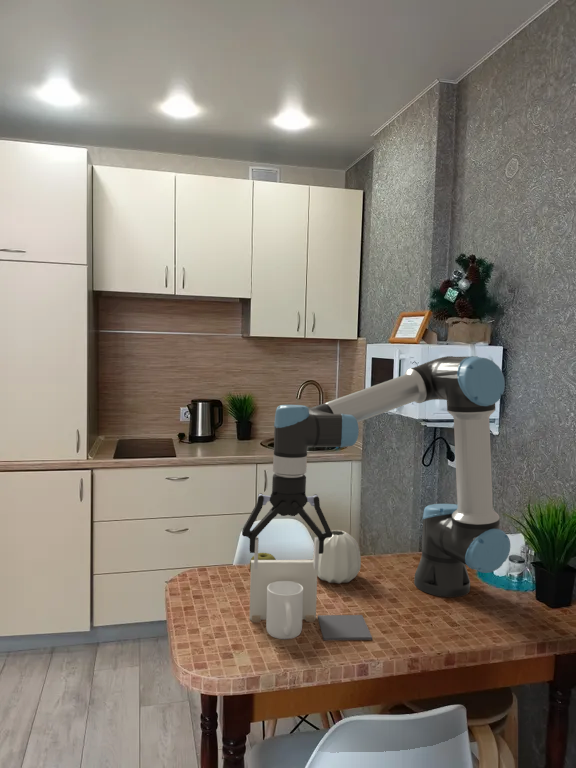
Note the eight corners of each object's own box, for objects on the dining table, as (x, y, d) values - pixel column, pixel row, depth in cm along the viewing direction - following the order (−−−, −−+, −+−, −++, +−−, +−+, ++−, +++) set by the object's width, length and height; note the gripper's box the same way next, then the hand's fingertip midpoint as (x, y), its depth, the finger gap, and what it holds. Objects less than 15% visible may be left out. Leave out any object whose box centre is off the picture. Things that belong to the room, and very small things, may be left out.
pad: (362, 617, 139) (362, 614, 139) (371, 639, 128) (372, 637, 128) (317, 617, 138) (317, 615, 138) (323, 640, 127) (323, 637, 127)
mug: (307, 648, 124) (308, 601, 123) (269, 649, 123) (270, 603, 122) (299, 622, 136) (300, 580, 135) (264, 623, 135) (265, 580, 134)
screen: (314, 613, 140) (316, 558, 140) (316, 621, 136) (318, 564, 136) (249, 614, 139) (250, 558, 138) (249, 622, 135) (251, 564, 134)
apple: (260, 572, 166) (261, 548, 166) (282, 579, 162) (283, 554, 161) (243, 580, 160) (244, 555, 160) (266, 587, 155) (266, 562, 155)
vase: (302, 579, 162) (304, 533, 161) (327, 565, 173) (329, 522, 172) (345, 592, 154) (346, 543, 153) (368, 576, 165) (370, 531, 165)
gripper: (341, 471, 132) (337, 561, 133) (234, 469, 130) (230, 560, 131) (347, 478, 125) (343, 573, 126) (233, 476, 123) (229, 572, 124)
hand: (285, 567), depth 128 cm, fingers open, 13 cm apart
